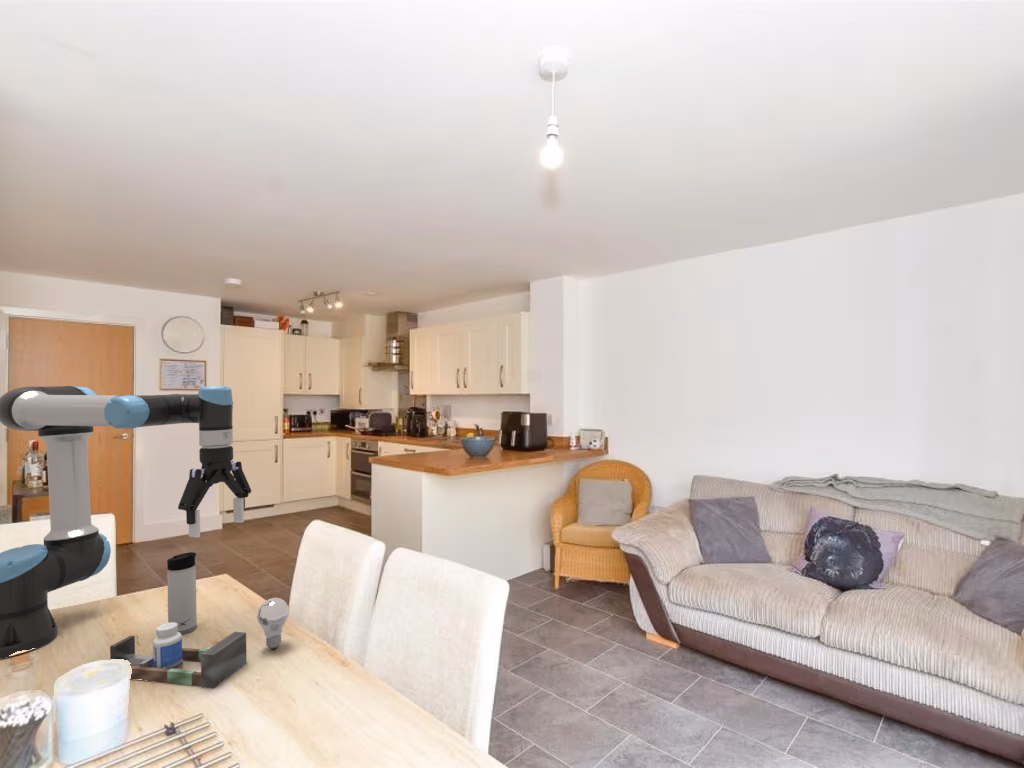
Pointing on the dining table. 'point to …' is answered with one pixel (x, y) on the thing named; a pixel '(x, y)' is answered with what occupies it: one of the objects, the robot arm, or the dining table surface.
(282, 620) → the light bulb
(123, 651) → the grey u-channel bracket
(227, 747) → the dining table surface
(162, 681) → the frame
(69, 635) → the dining table surface
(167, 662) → the pill bottle
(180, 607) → the travel mug
